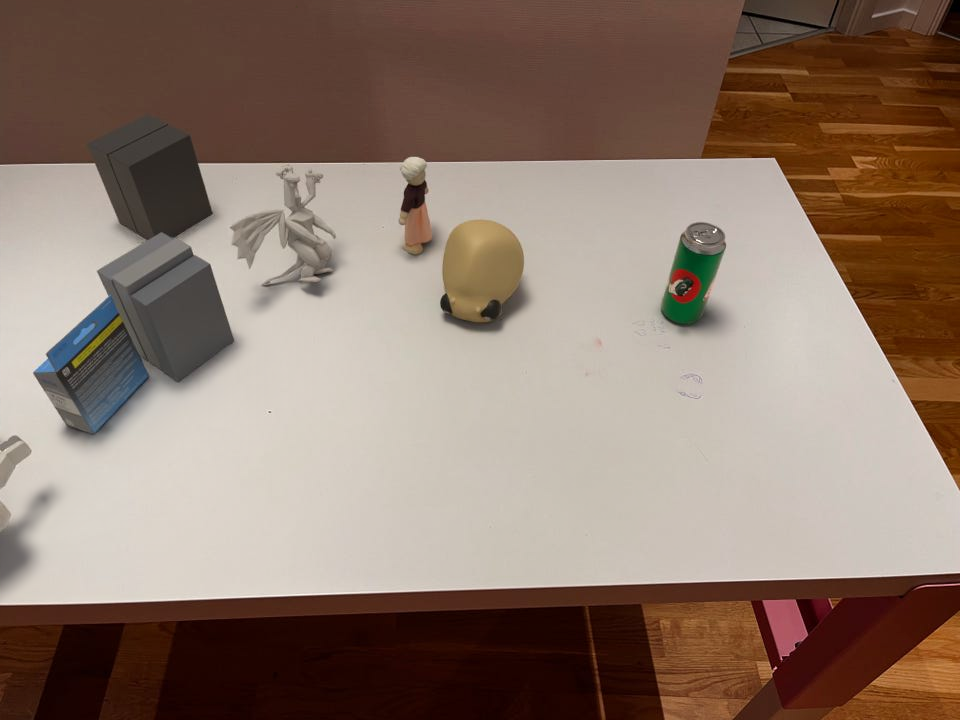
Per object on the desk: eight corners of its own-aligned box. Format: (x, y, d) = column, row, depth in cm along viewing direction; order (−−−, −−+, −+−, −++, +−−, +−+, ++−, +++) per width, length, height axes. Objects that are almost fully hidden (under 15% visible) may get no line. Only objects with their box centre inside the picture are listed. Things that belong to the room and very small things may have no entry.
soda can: (705, 327, 89) (733, 248, 80) (663, 326, 89) (687, 247, 80) (697, 298, 92) (723, 220, 83) (656, 297, 92) (678, 219, 83)
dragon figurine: (232, 305, 85) (197, 185, 80) (296, 261, 101) (270, 159, 96) (310, 298, 83) (279, 174, 78) (363, 254, 99) (340, 149, 94)
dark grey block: (119, 222, 99) (86, 143, 90) (173, 191, 104) (147, 113, 95) (158, 246, 96) (128, 166, 87) (213, 213, 101) (189, 134, 92)
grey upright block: (134, 351, 84) (94, 266, 74) (190, 312, 88) (160, 228, 79) (178, 382, 81) (142, 298, 72) (234, 340, 85) (207, 256, 76)
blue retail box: (121, 366, 82) (80, 282, 73) (151, 376, 81) (113, 293, 72) (64, 425, 77) (11, 342, 67) (94, 436, 76) (45, 354, 67)
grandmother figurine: (426, 261, 96) (423, 177, 86) (397, 257, 96) (391, 173, 87) (437, 225, 101) (436, 142, 91) (410, 222, 101) (405, 139, 92)
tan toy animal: (443, 311, 95) (415, 310, 84) (463, 218, 93) (437, 206, 83) (516, 328, 92) (497, 330, 82) (538, 233, 91) (521, 223, 81)
